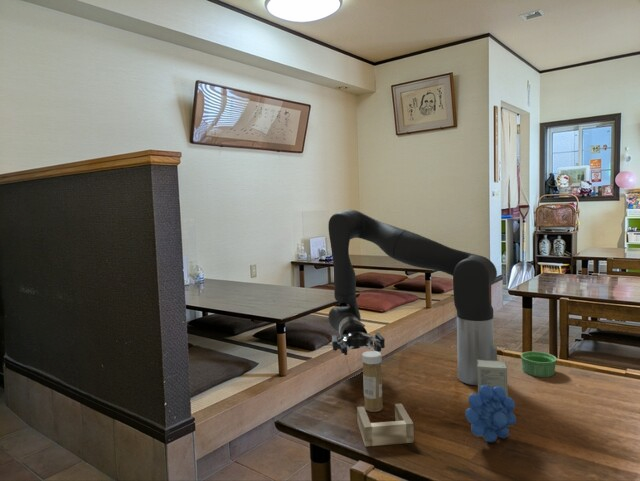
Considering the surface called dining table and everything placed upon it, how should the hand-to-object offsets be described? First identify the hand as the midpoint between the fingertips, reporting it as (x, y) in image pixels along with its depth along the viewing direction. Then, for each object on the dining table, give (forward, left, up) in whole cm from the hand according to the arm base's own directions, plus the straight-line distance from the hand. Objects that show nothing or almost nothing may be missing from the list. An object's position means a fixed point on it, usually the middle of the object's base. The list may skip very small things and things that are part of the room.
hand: (362, 350), depth 116 cm
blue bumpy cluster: (-21, +30, -10) cm, 38 cm away
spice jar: (0, +11, -10) cm, 15 cm away
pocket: (0, +23, -10) cm, 25 cm away
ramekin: (-50, -3, -11) cm, 51 cm away
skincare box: (-26, +19, -10) cm, 34 cm away
